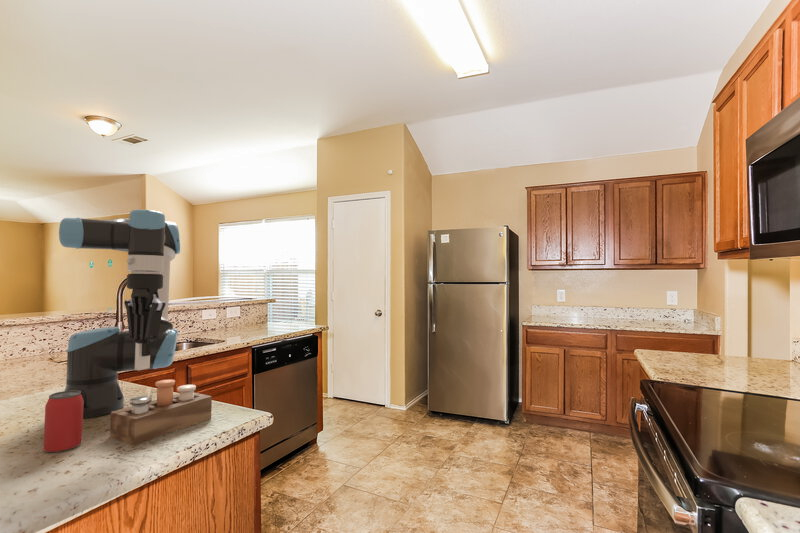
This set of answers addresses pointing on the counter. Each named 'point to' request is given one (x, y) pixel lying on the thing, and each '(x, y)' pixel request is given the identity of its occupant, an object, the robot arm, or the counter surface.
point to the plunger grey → (140, 404)
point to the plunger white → (186, 392)
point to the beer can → (63, 421)
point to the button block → (159, 419)
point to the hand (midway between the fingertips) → (142, 368)
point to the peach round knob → (164, 392)
